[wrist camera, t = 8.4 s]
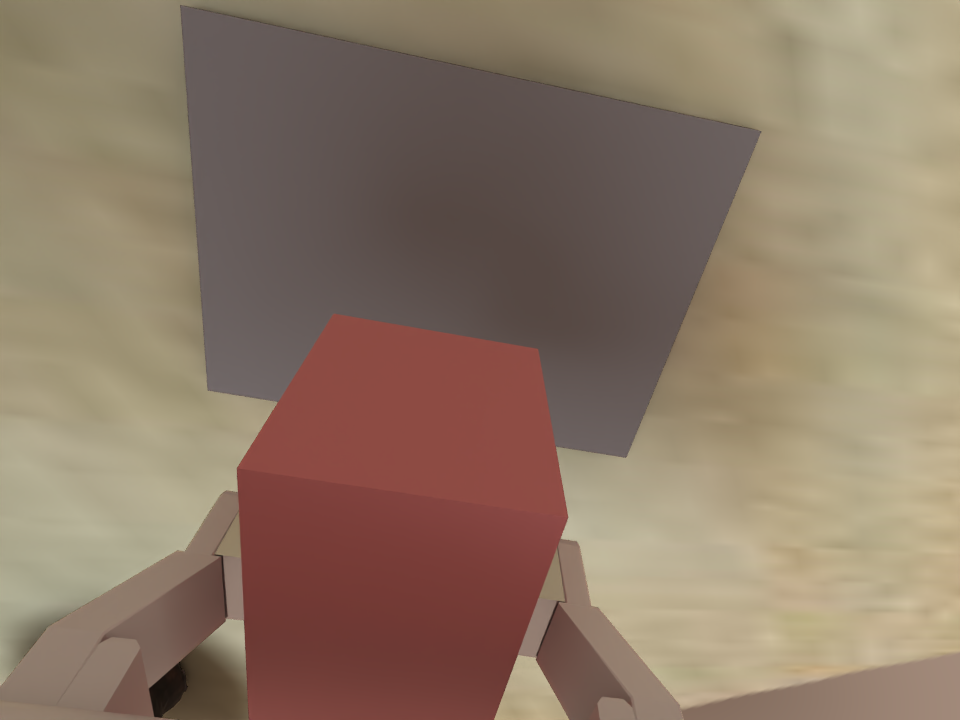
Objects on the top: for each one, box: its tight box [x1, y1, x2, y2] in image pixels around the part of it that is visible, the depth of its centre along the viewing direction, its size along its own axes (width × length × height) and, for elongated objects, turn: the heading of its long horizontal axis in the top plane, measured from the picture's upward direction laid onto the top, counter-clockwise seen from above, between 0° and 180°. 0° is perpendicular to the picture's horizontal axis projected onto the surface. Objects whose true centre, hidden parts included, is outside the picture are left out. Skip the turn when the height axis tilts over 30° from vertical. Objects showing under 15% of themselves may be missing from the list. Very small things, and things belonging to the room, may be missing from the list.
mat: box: [180, 5, 761, 458], centre depth 26 cm, size 24×18×1 cm
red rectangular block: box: [237, 314, 568, 720], centre depth 11 cm, size 8×4×5 cm, turn 169°
